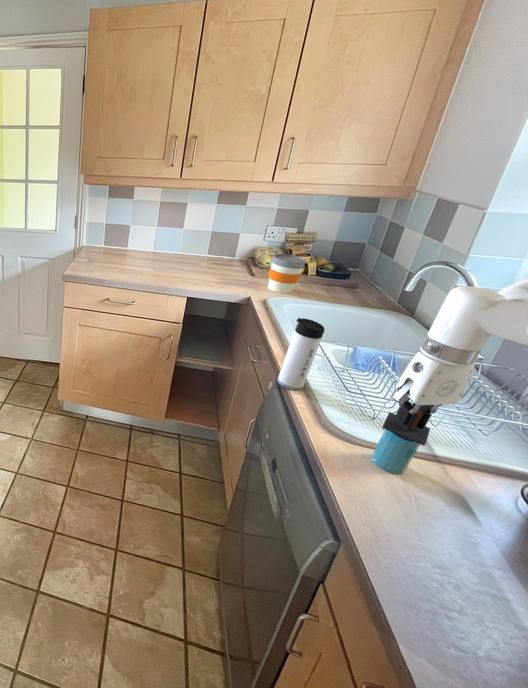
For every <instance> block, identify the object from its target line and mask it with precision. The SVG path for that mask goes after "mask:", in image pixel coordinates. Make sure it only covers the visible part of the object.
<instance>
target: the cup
mask: <svg viewBox="0 0 528 688" xmlns="http://www.w3.org/2000/svg"><path fill="white" fill-rule="evenodd" d="M420 446H421V444H418V443H416V442H414V441H411V440H409V439H407V438H404V437H402V436H400V435H397V434H395V433H393V432H390V431H388V430H386V429H384V430H383V433H382V434H381V436H380V437H379V440H378V442H377V444H376V446H375V448H374V450H373V451H372V454H371V456H370V459H371V462H372V463H373V464H374V465H375V466H377V467H378V468H379V469H381V470H383V471H385V472H388V473H389V474H390V473H391V474H394V475H402V474H404V473H405V472H406V471H407V469H408V467H409V465H410V464H411V461H412V460H413V458H414V456H415V455H416V453H417V452H418V449H419V448H420Z"/></svg>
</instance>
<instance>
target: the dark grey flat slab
mask: <svg viewBox="0 0 528 688" xmlns="http://www.w3.org/2000/svg"><path fill="white" fill-rule="evenodd" d="M416 414H417V415H418V416H417V418H416V420H415V421H414V423H413V425H412V427H411V429H410V430H406V429H404V428H403V427H402V426H400V425H399V424H398V423H396V422H395V421H394V417H395V416H396V413H393V412H390V411H389V412H388V414H387V416H386V418H385V421H384V422H383V425H382V427H381V428H382V429H384V430H385V429H386V430H388V431H390V432H393V433H395V434H397V435H400V436H402V437H404V438H407V439H409V440H411V441H414V442H416V443H418V444H420V446H423V447H424V446H425V445H426V444H427V441H428V437H429V434H430V430H431V428H430V427H428V426H425V428H424V429H419V428H418V427H416V426H417V424H418V422H419V420H420V419H421V417H422V415H423V411H422V410H420V409H418V411H417V412H416Z"/></svg>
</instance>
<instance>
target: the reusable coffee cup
mask: <svg viewBox="0 0 528 688" xmlns="http://www.w3.org/2000/svg"><path fill="white" fill-rule="evenodd" d="M270 262H271V266H269V271H268V283H267V284H268V285H267V289H268V290H269V291H271V292H274V293H278V294H291V292H292V290H293V288H294V287H295V284H297V283H298V281H299V279H300V278H301V275H302V271H303V269H304V268H305V264H306V259H305V258H303V257H301V256H298V255H294V254H288V253H275V254H273V256H272V258H271V260H270Z"/></svg>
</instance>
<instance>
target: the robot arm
mask: <svg viewBox="0 0 528 688" xmlns="http://www.w3.org/2000/svg"><path fill="white" fill-rule="evenodd" d="M491 335H492V336H495V337H499V338H502V339H505V340H508V341H511V342H514V343H517V344H520V345H525V346H528V278H527V279H523V280H522V281H518V282H515V283H514V284H511V285H509V286H506V287H504V288H502V289H500V290H499V291H497V292H496V291H493V290H490V289H486V288H483V287H479V286H478V287H477V286H470V285H469V286H468V285H460V286H455V287H453V288H452V289H451V290H449V292H448V293H447V296H446V297H445V299H444V301H443V303H442V305H441V307H440V309H439V311H438V313H437V315H436V317H435V319H434V320H433V323H432V325H431V326H430V329H429V331H428V332H427V334H426V336H425V338H424V340H423V342H422V344H421V346H420V348H419V351H418V352H417V353H416V354H415V355H414V357H413V358H412V359H411V361H410V362H409V363H408V365H407V366H406V367H405V370H404V371H403V373H402V374H401V376H400V379H399V381H398V382H397V385H396V387H395V389H396V392H395V394H394V395H392V397H391V399H392V401H394V402H396V403H398V406H399V408H398V410H397V412H396V413H395V415H396V416H395V417H394V421H395V422H396V423H398V424H399V425H400V426H402V427H403V428H404V429H406V430H410V429H411V427H412V425H413V423H414V421H415V420H416V418H417V416H418V415H417V414H416V412H417V411H418V409H420V410H422V411H423V415H422V417H421V419H420V420H419V422H418V424H417V426H416V427H418V428H419V429H424V428H425V427H427V424H428V422H429V421H430V420H431V417H432V415H433V414H436V413H437V411H438V410H439V408H440V407H441V406H444V405H454V404H457V403H459V402H460V400H461V399H462V397H463V395H464V393H465V391H466V389H467V388H468V386H469V384H470V381H471V379H472V376H473V374H474V371H475V368H476V360H477V358H479V357H478V356H479V355H480V354H481V352H482V350H483V348H484V347H485V345H486V343H487V342H488V340H489V338H490V336H491ZM410 401H411V402H410ZM412 402H413V403H412Z"/></svg>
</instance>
